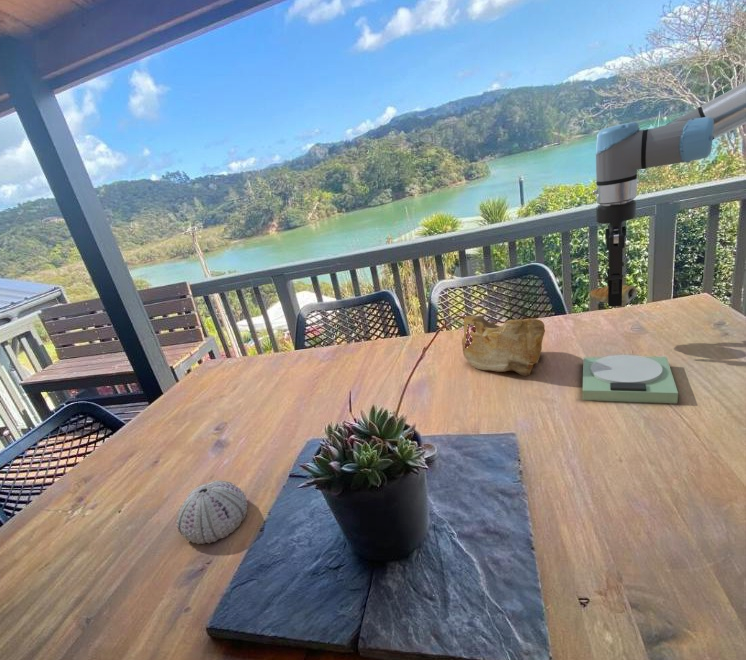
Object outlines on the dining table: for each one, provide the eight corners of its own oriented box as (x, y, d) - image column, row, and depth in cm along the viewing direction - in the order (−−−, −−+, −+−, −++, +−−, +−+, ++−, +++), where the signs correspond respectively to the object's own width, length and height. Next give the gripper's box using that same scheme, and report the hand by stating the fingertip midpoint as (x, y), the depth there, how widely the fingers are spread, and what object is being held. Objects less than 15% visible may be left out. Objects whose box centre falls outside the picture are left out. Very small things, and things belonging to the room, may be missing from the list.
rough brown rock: (575, 365, 108) (575, 307, 103) (533, 388, 101) (531, 326, 96) (498, 349, 127) (496, 300, 123) (458, 367, 120) (453, 315, 115)
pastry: (584, 302, 108) (584, 287, 106) (598, 294, 111) (598, 279, 110) (626, 306, 100) (626, 290, 99) (639, 296, 104) (640, 281, 102)
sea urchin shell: (253, 491, 90) (241, 459, 87) (249, 539, 78) (235, 504, 75) (190, 508, 90) (176, 477, 87) (176, 560, 77) (159, 526, 74)
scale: (665, 368, 97) (666, 353, 95) (677, 406, 84) (678, 389, 83) (583, 368, 105) (583, 354, 103) (582, 402, 92) (582, 387, 91)
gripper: (596, 198, 106) (596, 287, 115) (595, 213, 90) (595, 315, 99) (633, 191, 102) (630, 285, 111) (639, 206, 86) (635, 314, 95)
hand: (614, 299), depth 105 cm, fingers closed on pastry, 8 cm apart
